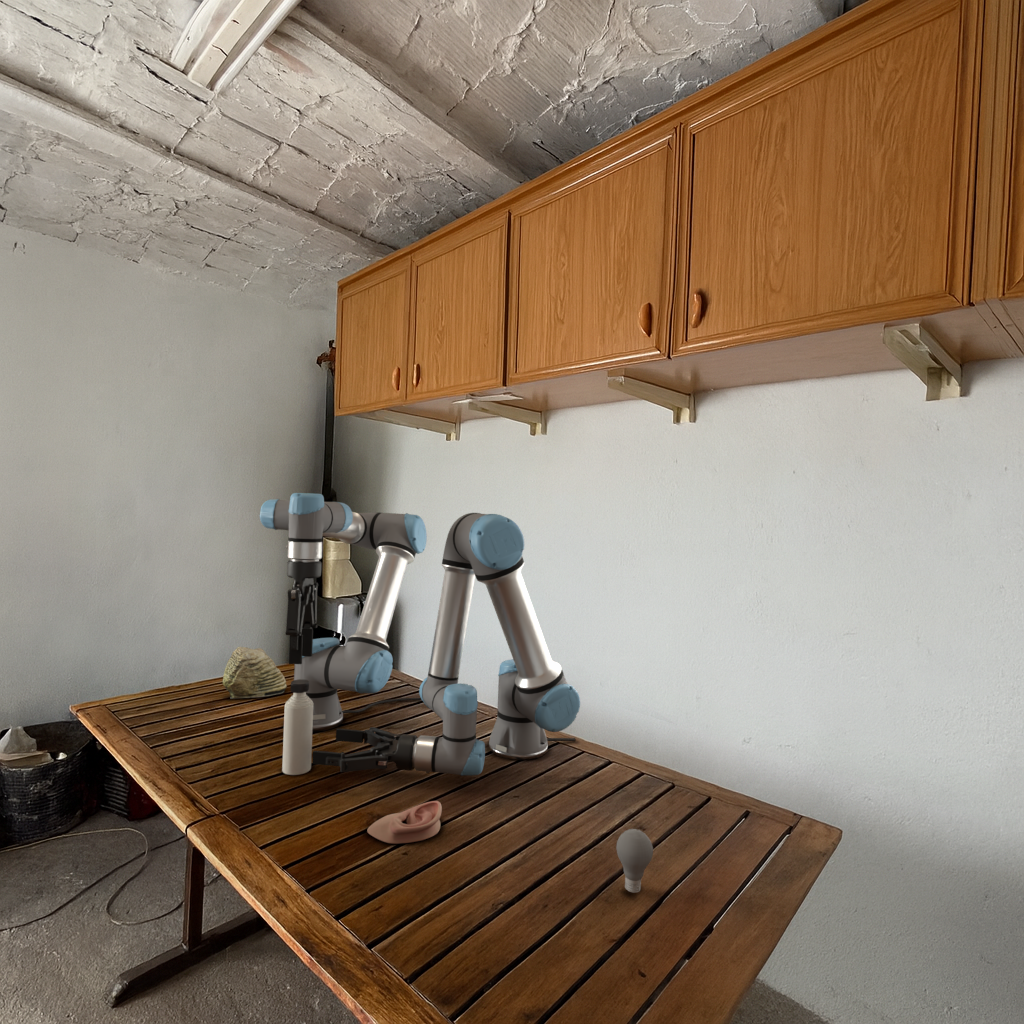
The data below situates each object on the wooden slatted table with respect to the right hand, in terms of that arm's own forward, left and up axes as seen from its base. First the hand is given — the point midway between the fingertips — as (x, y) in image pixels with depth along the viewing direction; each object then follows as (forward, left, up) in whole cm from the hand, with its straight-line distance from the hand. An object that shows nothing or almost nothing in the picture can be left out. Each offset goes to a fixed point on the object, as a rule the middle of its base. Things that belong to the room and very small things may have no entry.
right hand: (325, 745), depth 145 cm
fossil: (+18, -62, -6) cm, 65 cm away
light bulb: (-47, +58, -6) cm, 75 cm away
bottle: (+6, -3, -6) cm, 9 cm away
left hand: (+6, -4, +19) cm, 20 cm away
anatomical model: (-14, +29, -6) cm, 33 cm away
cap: (+6, -3, +14) cm, 15 cm away
